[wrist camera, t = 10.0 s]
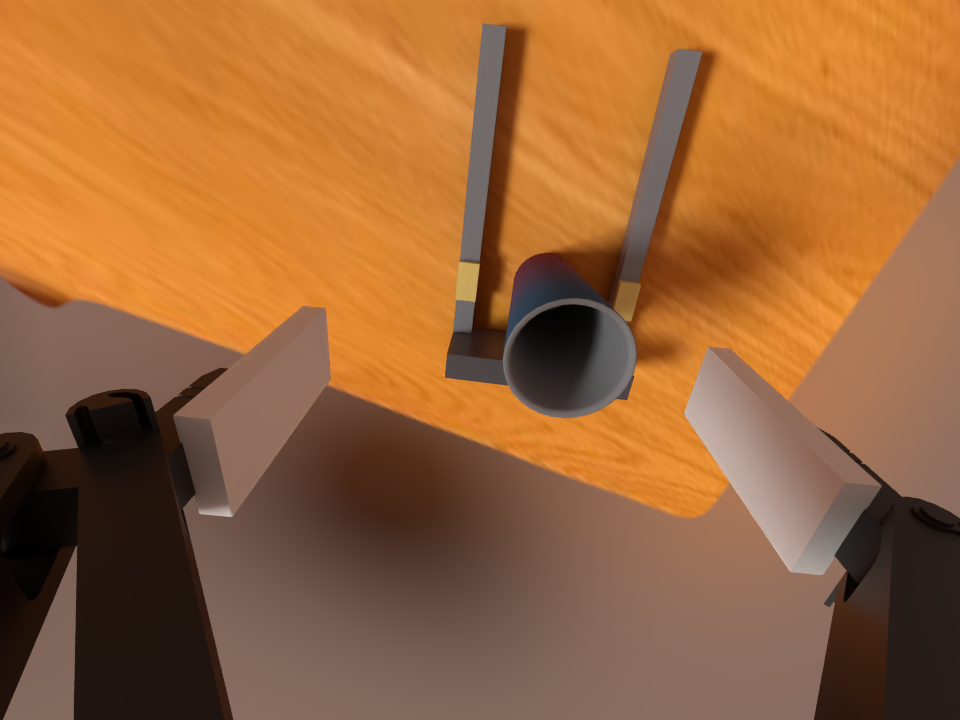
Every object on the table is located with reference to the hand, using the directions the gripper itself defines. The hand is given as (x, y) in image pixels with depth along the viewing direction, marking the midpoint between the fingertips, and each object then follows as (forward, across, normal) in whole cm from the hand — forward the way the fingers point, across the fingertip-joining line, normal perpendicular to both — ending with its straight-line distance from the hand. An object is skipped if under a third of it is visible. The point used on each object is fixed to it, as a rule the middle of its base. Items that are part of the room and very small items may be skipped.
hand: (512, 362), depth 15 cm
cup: (+22, +4, -3) cm, 22 cm away
